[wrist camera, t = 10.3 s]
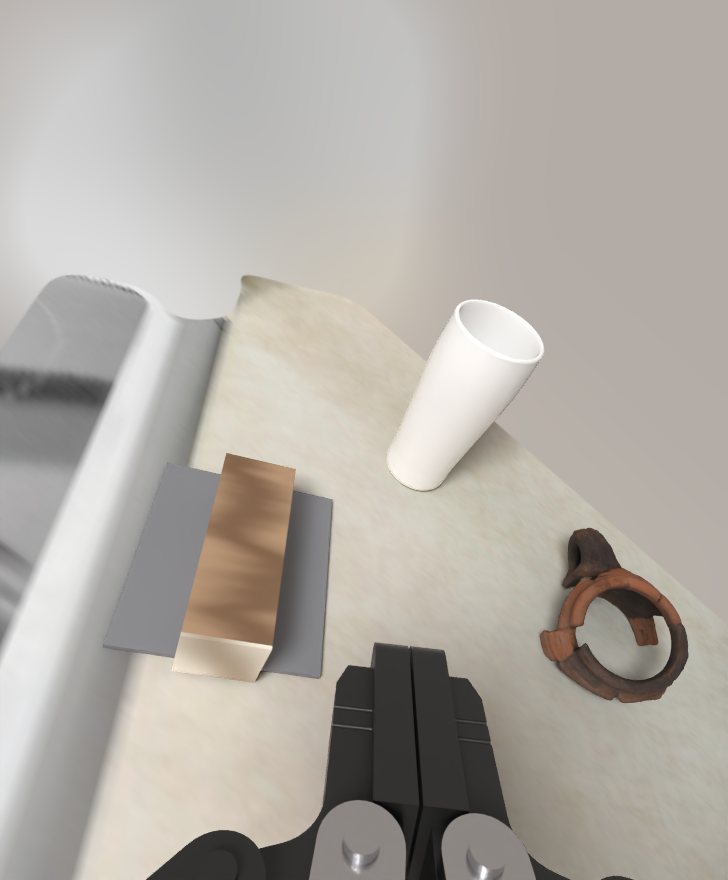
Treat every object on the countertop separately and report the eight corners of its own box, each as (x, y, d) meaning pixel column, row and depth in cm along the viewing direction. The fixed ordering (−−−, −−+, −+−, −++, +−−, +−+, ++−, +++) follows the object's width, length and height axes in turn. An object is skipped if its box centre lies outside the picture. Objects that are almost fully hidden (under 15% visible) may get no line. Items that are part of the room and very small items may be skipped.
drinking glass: (378, 429, 49) (453, 285, 38) (448, 452, 50) (539, 318, 40) (372, 487, 44) (455, 340, 34) (450, 511, 45) (553, 375, 35)
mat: (330, 502, 41) (332, 499, 41) (318, 678, 32) (320, 676, 32) (166, 466, 39) (167, 462, 38) (103, 647, 30) (103, 644, 29)
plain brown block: (254, 682, 31) (280, 508, 39) (272, 649, 27) (295, 469, 36) (171, 670, 30) (216, 495, 38) (179, 635, 26) (226, 453, 35)
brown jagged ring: (669, 681, 42) (733, 686, 34) (550, 715, 41) (588, 727, 33) (604, 529, 46) (648, 503, 38) (496, 558, 45) (518, 537, 38)
